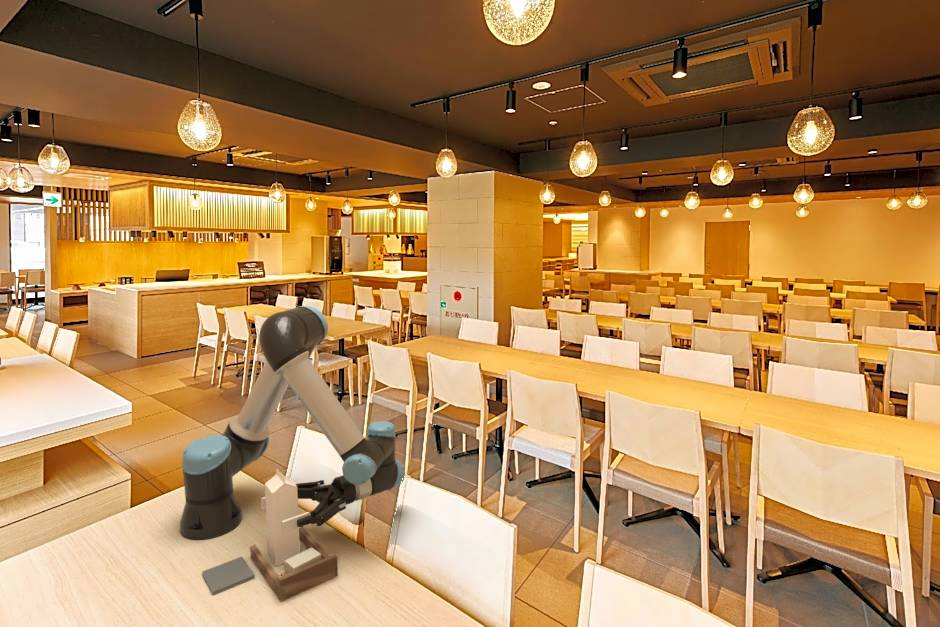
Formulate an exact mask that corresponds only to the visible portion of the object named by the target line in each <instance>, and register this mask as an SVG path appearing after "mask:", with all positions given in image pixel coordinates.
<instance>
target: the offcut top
mask: <svg viewBox="0 0 940 627" xmlns="http://www.w3.org/2000/svg"><path fill="white" fill-rule="evenodd" d="M319 560H321V554H320V553H319V552H318V551H316V550H315V549H314V548H312V547H311V548H309V549H307V548H306V550H303V551H300V553H299V554H297V555H295V556H293V557H291V558H289V559H287V560H285V563H284V572H285V573H286V574H288V573H291V572H293V571H295V570H298V569H300V568H303V567H305V566H307V565H310V564H312V563H314V562H317V561H319Z"/></svg>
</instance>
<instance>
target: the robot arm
mask: <svg viewBox="0 0 940 627" xmlns="http://www.w3.org/2000/svg"><path fill="white" fill-rule="evenodd" d="M328 332H329V325H328V321H327V319H326V316H325V315H324V314H323V313H322V312H321V310H319V309H318V308H315V307H313V306H308V305H304V306H303V305H301V306H300V305H299V306H296V307H295V308H289V309H287V310H284V311H279V312H275V313H273V314H271V315H270V316H268V317H267V318H266V319H265V320H264V321H263V323H262V325H261V327H260V329H259V336H258V340H259V346H260V350H261V352H262V354H263V356H264V358H265V360H266V361H265V363H264V365H263V366H262V368H261V370H260V372H259V374H258V377H257V378H256V381H255V383H254V384H253V386H252V388H251V390H250V392H249V395H248V397H247V398H246V400H245V402H244V403H243V407H242V408H241V410H240V412H239V413H238V414H237V415H234V416H233V417H231V418H230V420H229V422H228V424H227V426H226V428H225V431H224V432H223V433H222V434H211V435H206V436H205V437H199V438H198V439H195V440H193V441H192V442H190V443H189V444H188V445H187V446H186V447H185V448H184V450H183V452H182V462H181V467H182V473H183V474H182V475H183V485H184V486H183V488H184V495H185V496H184V497H185V504H184V508H183V511H182V514H181V517H180V521H179V522H180V523H179V529H180V534H181V535H182V536H183V537H184V538H187V539H189V540H190V539H191V540H207V539H211V538H216V537H219V536H222V535H225V534H227V533H229V532H231V531H233V530H234V529H235V528H237V527H238V526H239V525H240V523H241V521H242V520H243V519H242V518H243V515H242V508H241V505H240V503H239V501H238V500H237V498H236V496H235V493H234V483H233V477H234V476H235V475H236V474H238V473H240V472H241V471H242V470H243V469H245V468H246V467H248V466H250V464H252V463H254V462H256V461H257V460H259V458H261V457H262V456H263V455H264V453H265V452H266V451H267V449H268V447H269V444H270V437H269V435H270V428H269V426H268V425H269V424H270V422H271V420H272V419H273V416H274V415H275V413H276V411H277V408H278V407H279V405H280V403H281V401H282V399H283V397H284V395H285V393H286V391H287V389H288V388H289V387H290V388H291V390H292V391H293V393H294V394H295V396H296V398H298V400H299V401H300V402H301V404H302V406H304V408H305V410H306V411H307V412H308V414H309V416H311V417H312V419H313V421H314V422H315V423H316V425H317V427H319V429H320V430H321V431H322V434H324V436H325V437H326V439H327V440H328V441H329V443H330V444H331V446H332V447H333V449H334V450H335V451H336V453H337V454H338V455H339V457H340V459H341V460H342V461H343V464H342V467H341V469H342V475H339V476H337V477H334V478H333V479H332V482H331V483H330V484H325V480H324V479H321V480H317V481H309V482H301V483H295V484H296V486H297V494H298V500H303V499H304V500H312V501H316V502H317V503H318V504H317V506H316V507H315V508H314V509H313V510H311V511H310V512H309V511H306V512H303V513H301V514H300V513H299V514H298V515H297V516H295V517H292V518H289V519H286V520H283V521H281V524H282V533H285V532H288V531H291V530H293V529H296V528H301V527H303V528H304V526H308V525H310V524H311V525H315V524H316V527H321V526H323V525H325V524H326V523H327V522H328V521H329V520H330V519H332V518H333V517H334V516H335V515H337V514H338V513H340V512H341V511H344V510H346V508H347V505H349V504H353V503H354V502H357V501H361V500H363V499H366V498H368V497H371V496H375V495H377V494H380V493H382V492H385V491H390V490H392V489H394V488H396V487H398V486H400V485H402V483H403V482H404V481H405V479H406V477H404V476H406V475H405V473H406V472H405V470H404V465H403V463H402V462H401V461H400V460H399V459H398V458H396V437H397V436H396V428H395V425H394V423H392V422H390V421H386V420H385V421H384V420H381V421H374V422H371V423H370V424H369V425H368V426H367V433H366V435H367V438H365V436H364V435H363V433H362V431H361V430H360V429H359V427H358V426H357V425H356V423H355V422H354V421H353V419H352V418H351V417H350V414H348V412H347V410H346V408H344V407H343V405H342V404H341V402H340V401H339V399H338V398H337V396H336V395H335V394H334V392H333V391H332V389H331V388H330V387H329V385H328V384H327V382H326V381H325V379H324V378H323V377H322V375H321V373H319V371H318V370H317V369H316V367H315V366H314V364H313V363H312V361H311V360H310V357H311V355H312V353H313V352H314V350H315V348H316V346H317V345H319V344H321V343H322V342H323V341H324V340H325V339H326V337H327V335H328ZM402 478H403V480H402ZM401 481H402V483H401ZM260 508H261V510H264V509H265V510H266V498H265V496H263V497H260Z"/></svg>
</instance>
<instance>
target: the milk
mask: <svg viewBox="0 0 940 627" xmlns="http://www.w3.org/2000/svg"><path fill="white" fill-rule="evenodd" d="M275 471H276V473H275V475H273V476H272V477H271V478H270V479H269V480H268V481H266V482H265V483H264V494H265V496H264V497H265V498H266V508H265V511H266V512H265V513H266V514H265V516H266V532H267V533H266V534H267V535H266V536H267V549H268V556H269V557H270V559H271V561H272V562H273V564H274V566H276V567H277V566H280V565H282V564H285V560H287V559H289V558H291V557H293V556H295V555H297V554H299V553H301V547H300V546H301V545H300V542H301V541H300V540H299V528H300V527H299V528H296V529H293V530H291V531H288V532H285V533H282V524H281V521H283V520H286V519H289V518H292V517H295V516H297V515H299V501H298V500H299V499H298V494H297V486H296V484H297V483H295V481H293V480H292V479H291V478H290V477H289V476H286V475H283V474H282V472H280V470H279V469H278V468H276V470H275Z"/></svg>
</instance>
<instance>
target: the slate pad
mask: <svg viewBox="0 0 940 627" xmlns="http://www.w3.org/2000/svg"><path fill="white" fill-rule="evenodd" d="M201 573H202V574H201V575H202V577H203V579H204V581H205V583H206V584H207V586H208V590H210V593H211V594H212V596H214V595H217V594H219V593H222V592H224V591H226V590H229V589H231V588H234V587H236V586H239V585H241V584H243V583H247V582H249V581H251V580H254V579H255V577H256V576H255V573H254V571H253V570H252V569H251V567H250V566H249V564H248V562H247V561H246V560H245V558H244V557H243V556H240V557H237V558H235V559H232V560H229V561H226V562H224V563H221V564H219V565H216V566H214V567H211V568H209V569H205V570H203V571H201Z"/></svg>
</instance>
